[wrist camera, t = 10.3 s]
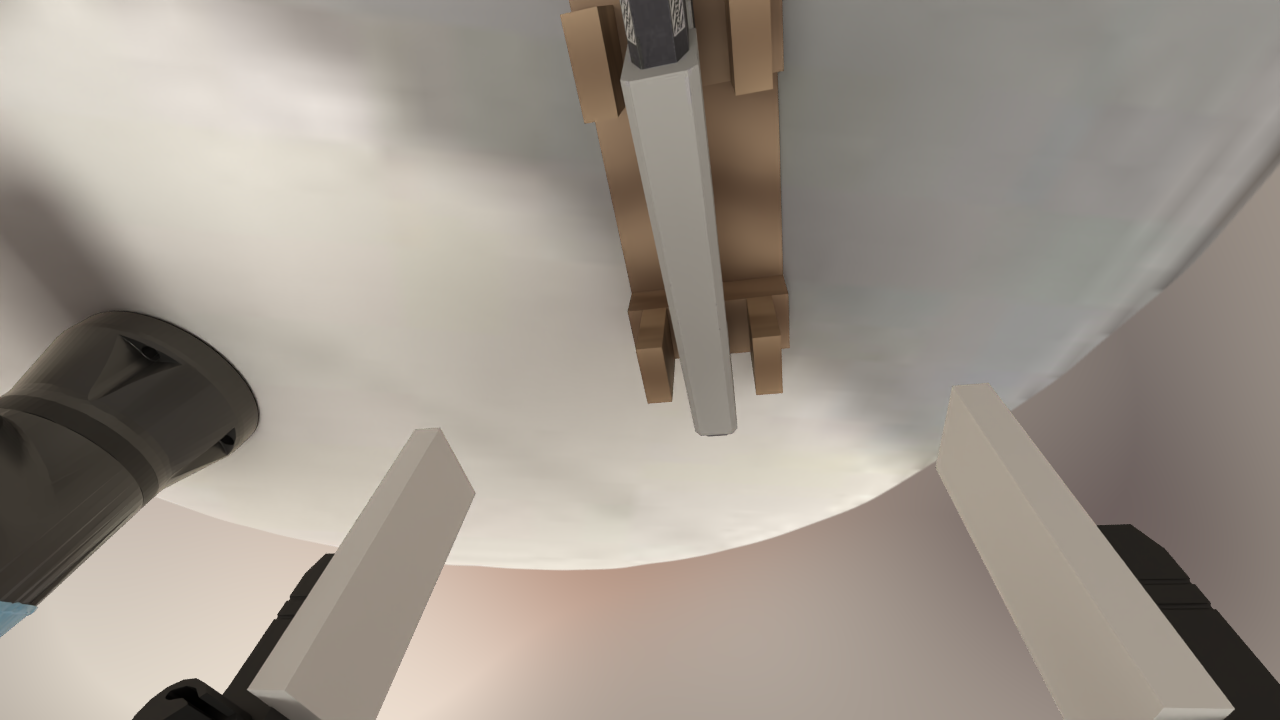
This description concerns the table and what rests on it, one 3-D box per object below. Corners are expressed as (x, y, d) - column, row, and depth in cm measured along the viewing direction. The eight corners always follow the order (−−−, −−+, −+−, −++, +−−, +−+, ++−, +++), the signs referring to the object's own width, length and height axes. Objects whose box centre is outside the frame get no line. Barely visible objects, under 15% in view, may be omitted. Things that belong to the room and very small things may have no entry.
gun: (680, -142, 19) (680, -104, 13) (728, 325, 38) (738, 440, 31) (616, -124, 20) (583, -79, 13) (694, 328, 38) (697, 443, 32)
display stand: (782, 332, 37) (800, 404, 30) (645, 345, 38) (634, 416, 32) (771, -57, 24) (797, -75, 18) (571, -10, 26) (528, -11, 20)
